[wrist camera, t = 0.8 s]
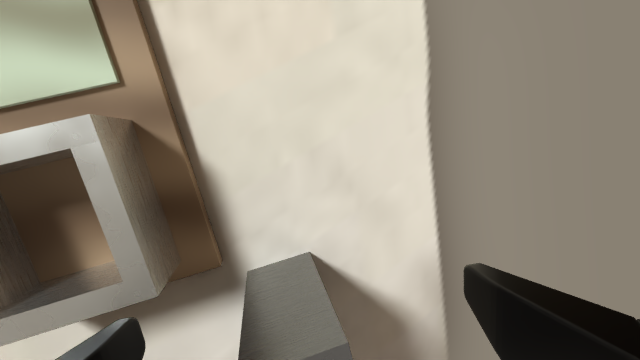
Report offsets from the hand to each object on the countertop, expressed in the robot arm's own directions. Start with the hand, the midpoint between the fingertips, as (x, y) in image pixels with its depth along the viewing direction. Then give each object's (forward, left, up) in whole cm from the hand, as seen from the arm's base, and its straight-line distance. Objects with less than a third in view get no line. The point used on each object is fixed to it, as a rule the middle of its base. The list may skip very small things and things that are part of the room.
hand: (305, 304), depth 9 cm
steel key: (-6, +1, -13) cm, 14 cm away
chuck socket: (+3, +11, -13) cm, 17 cm away
